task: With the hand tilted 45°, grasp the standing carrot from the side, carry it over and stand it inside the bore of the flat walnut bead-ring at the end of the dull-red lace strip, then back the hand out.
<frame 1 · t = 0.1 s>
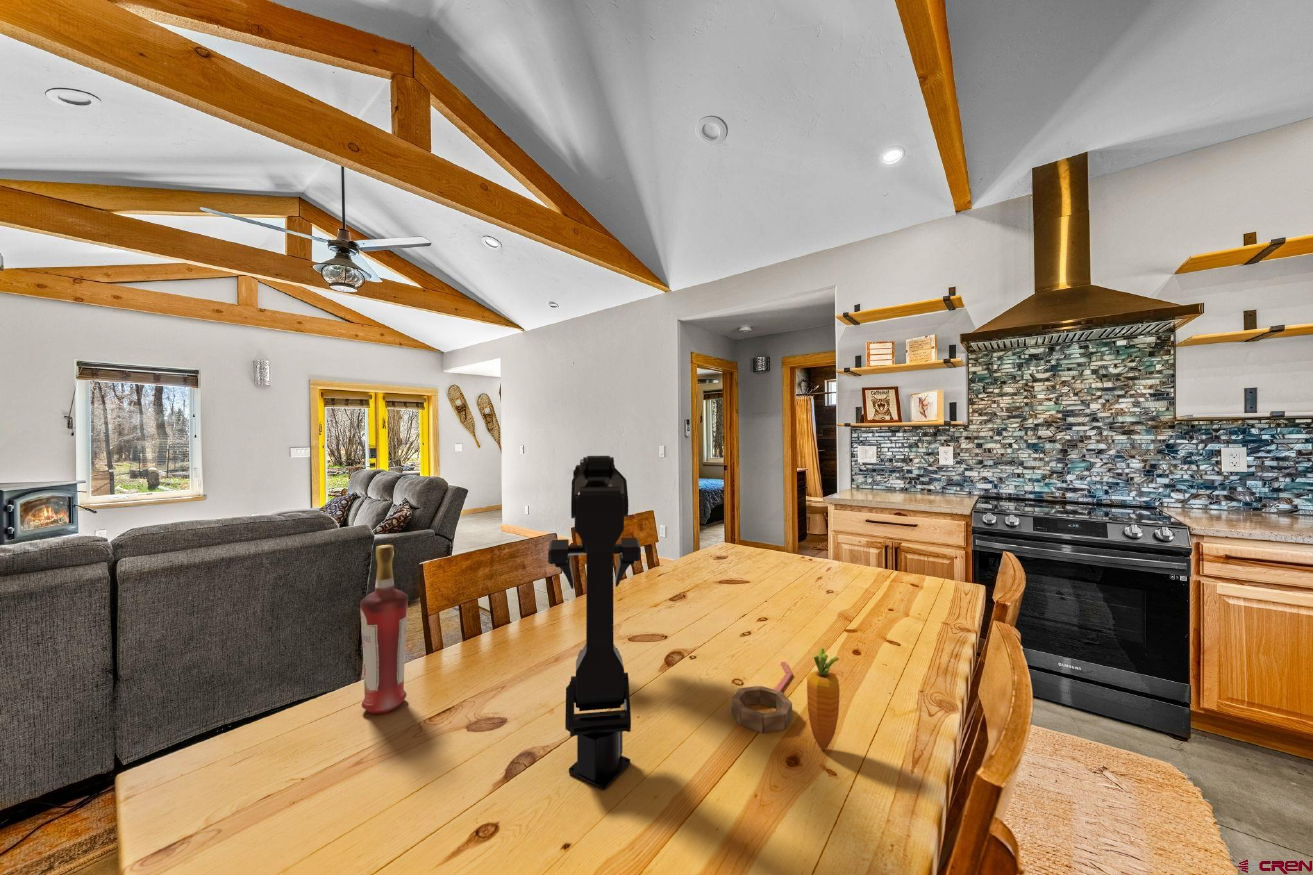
hand: (594, 586, 104), 15 cm above the table, tool pointing down, fingers open, 9 cm apart
liquor: (384, 708, 85), on the table
carrot: (822, 751, 74), on the table
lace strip: (780, 688, 92), on the table
bead ring: (761, 715, 83), on the table
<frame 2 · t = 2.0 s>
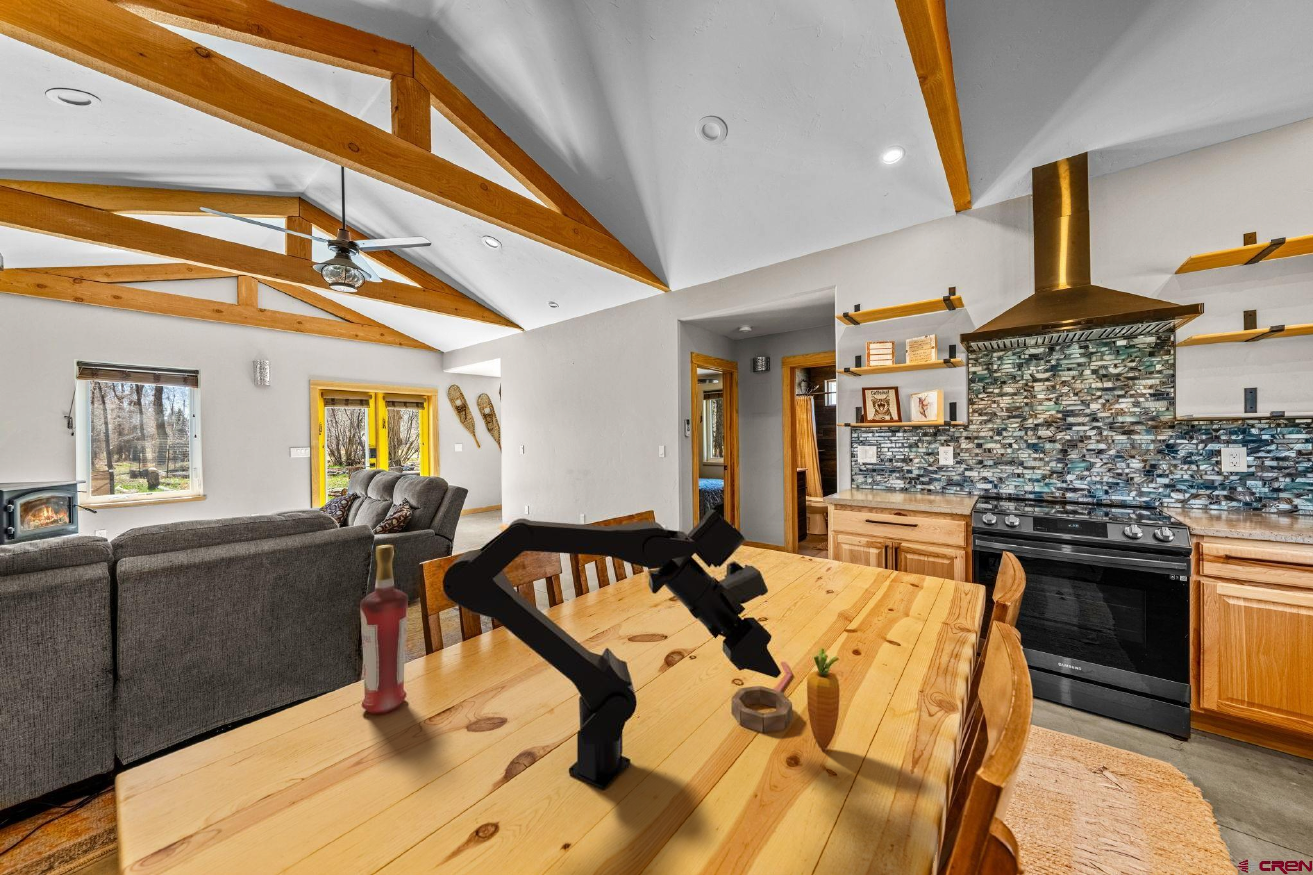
hand: (765, 660, 74), 13 cm above the table, tool tilted 45°, fingers open, 9 cm apart
nothing on the table moved.
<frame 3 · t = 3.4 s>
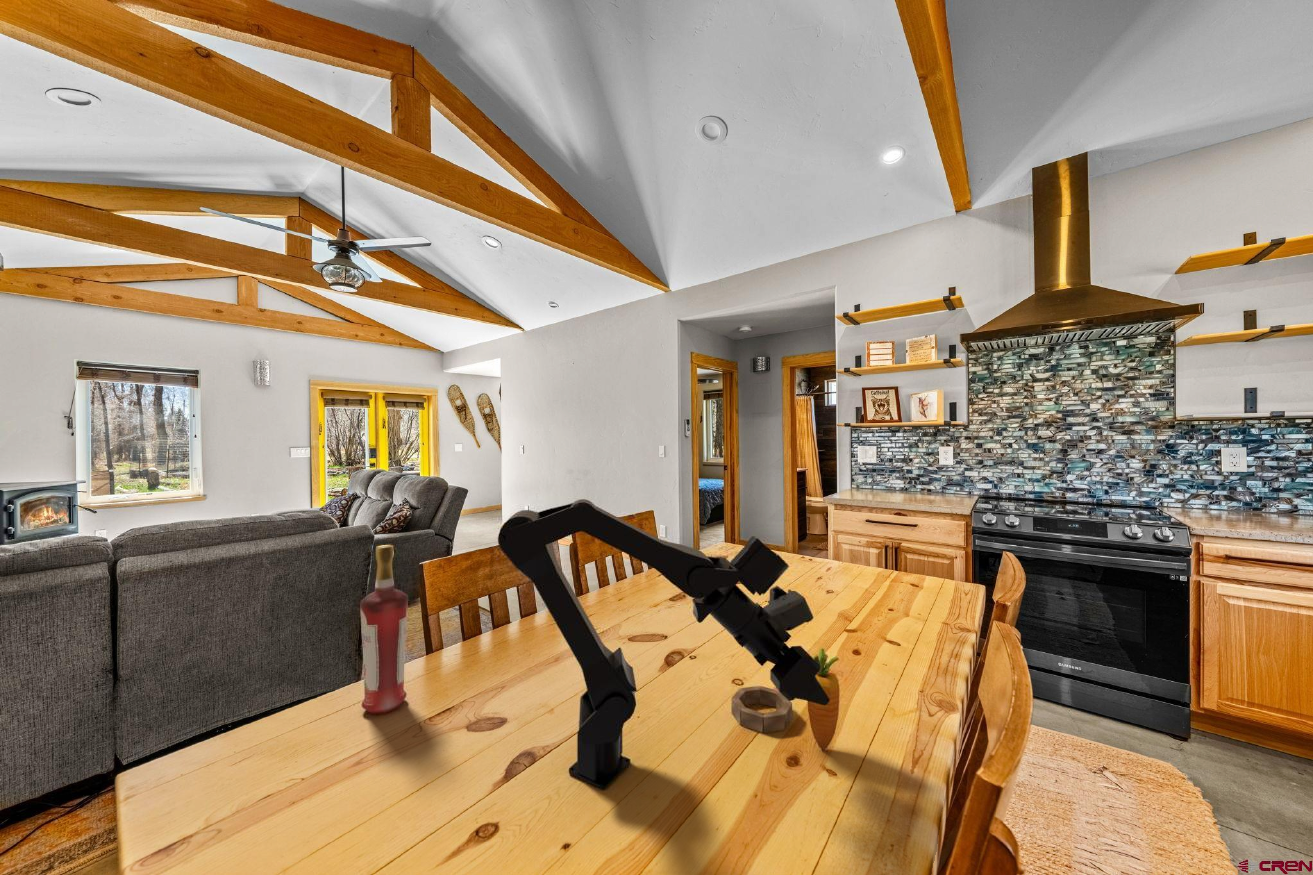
hand: (812, 686, 74), 10 cm above the table, tool tilted 45°, fingers open, 9 cm apart
nothing on the table moved.
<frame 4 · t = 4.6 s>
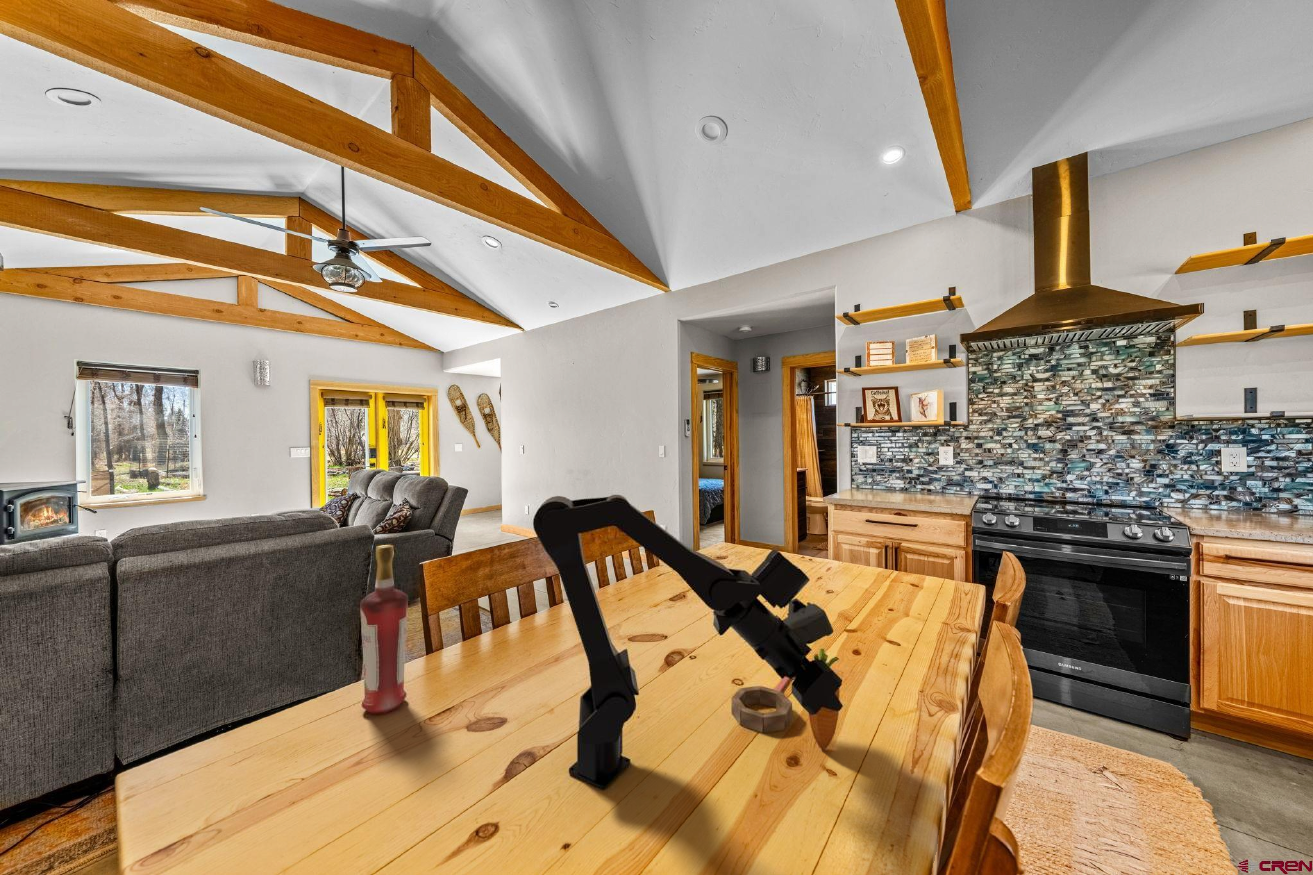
hand: (831, 698, 74), 8 cm above the table, tool tilted 45°, fingers closed on carrot, 5 cm apart
carrot: (822, 751, 74), on the table, touching gripper
everything else where it was.
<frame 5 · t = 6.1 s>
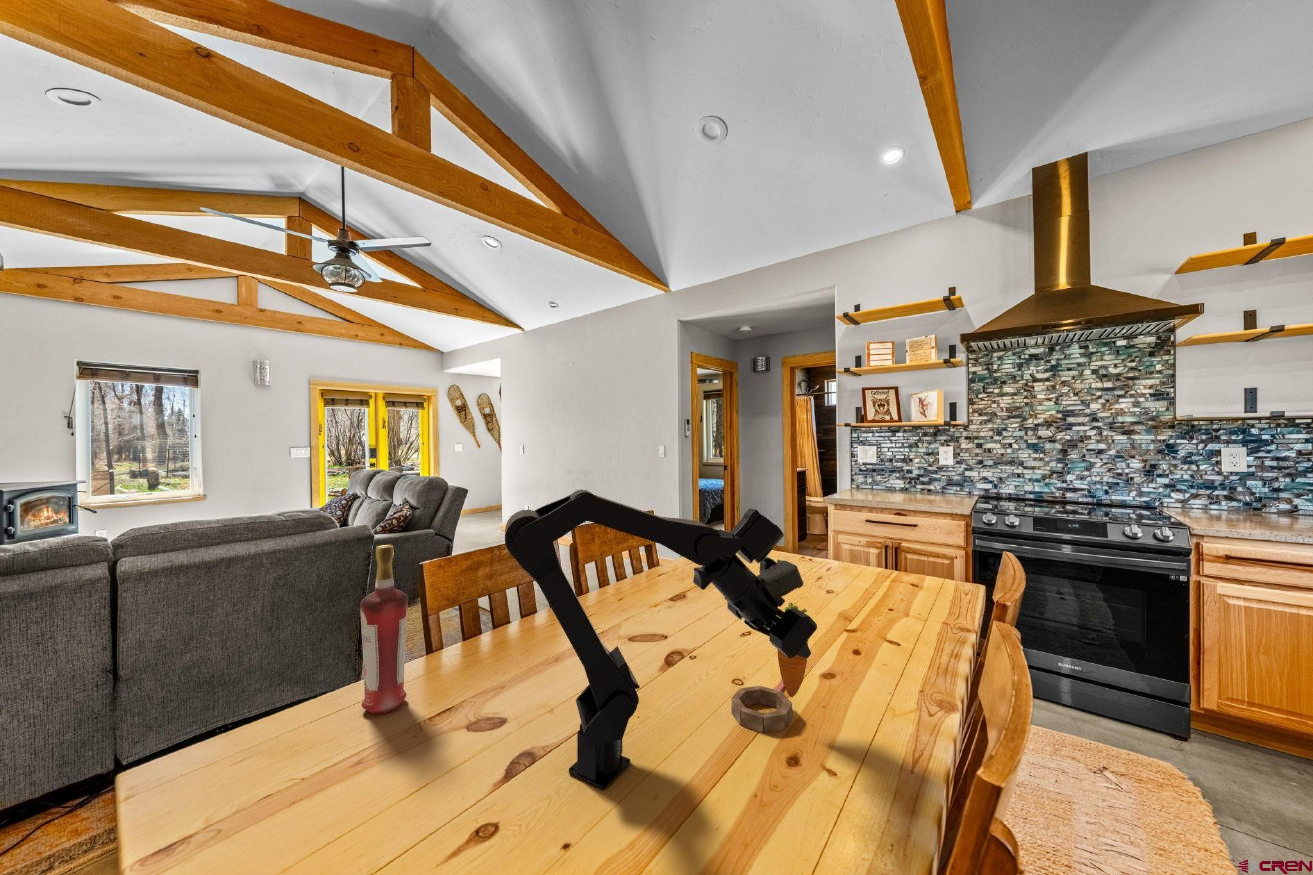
hand: (799, 648, 79), 13 cm above the table, tool tilted 45°, fingers closed on carrot, 5 cm apart
carrot: (791, 698, 78), point 5 cm above the table, touching gripper
everything else where it was.
when the fingers open (9 cm above the table, at t = 7.9 s): carrot drops 1 cm, on the table.
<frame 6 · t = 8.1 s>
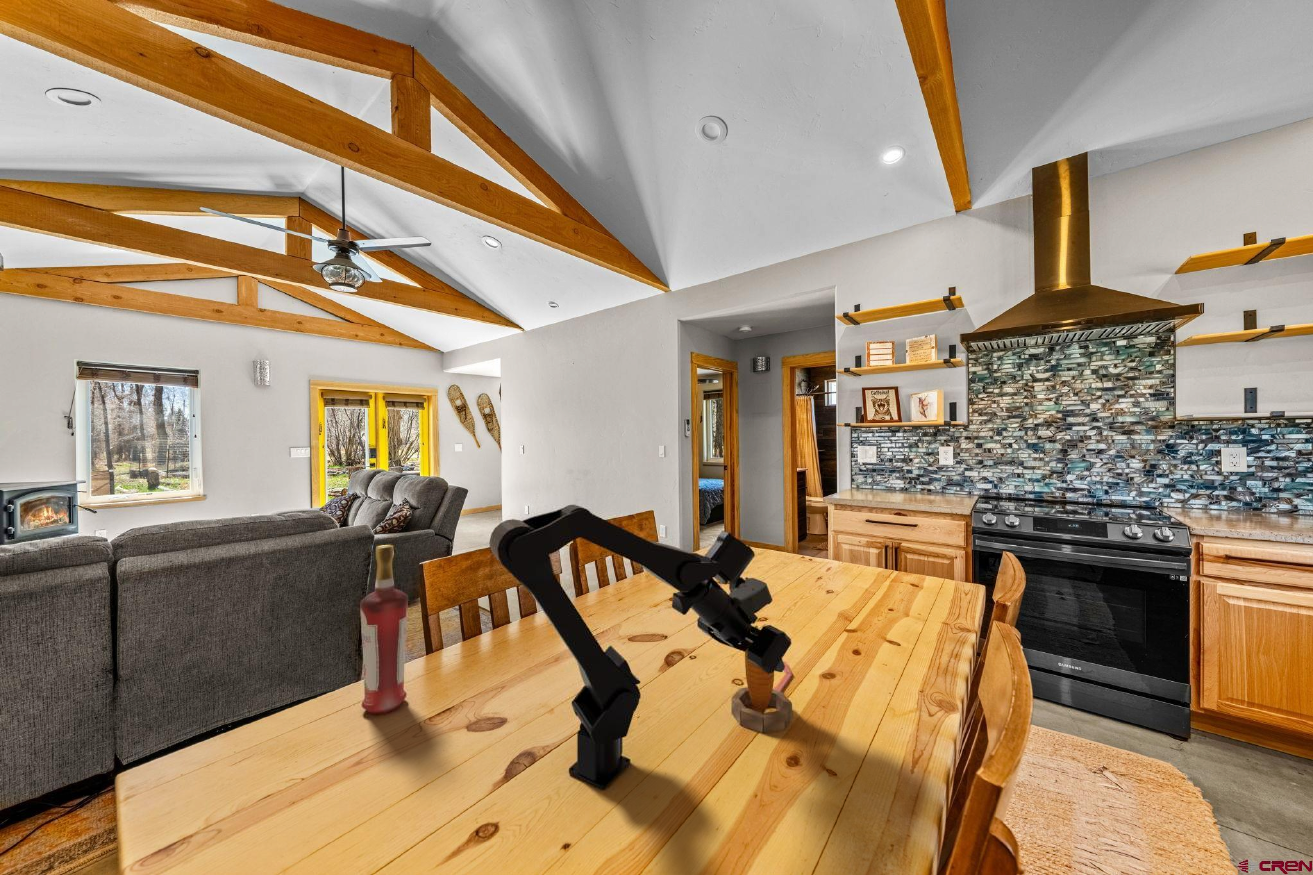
hand: (767, 660, 84), 9 cm above the table, tool tilted 45°, fingers open, 7 cm apart
carrot: (760, 716, 83), on the table
everything else where it was.
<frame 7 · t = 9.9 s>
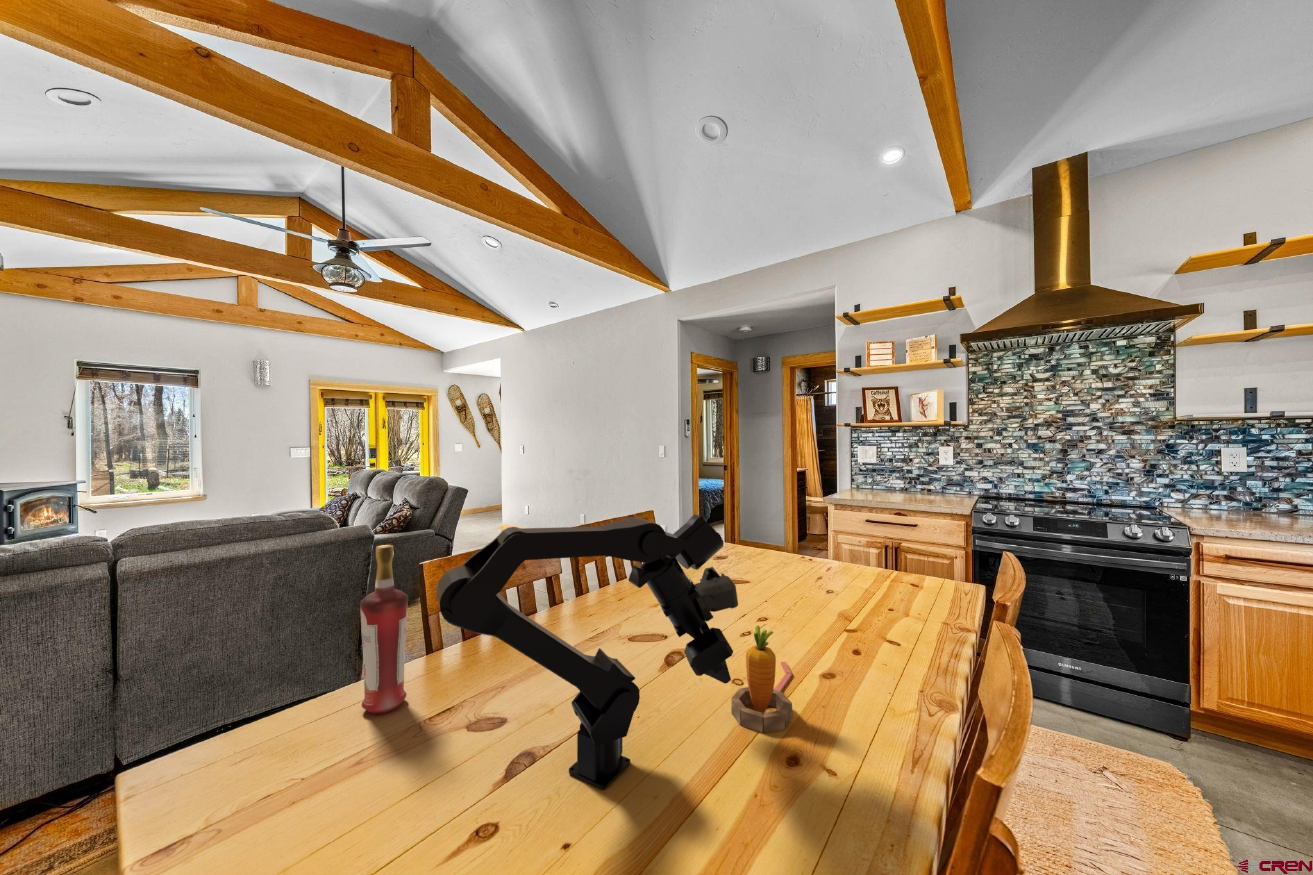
hand: (718, 662, 79), 11 cm above the table, tool tilted 35°, fingers open, 9 cm apart
nothing on the table moved.
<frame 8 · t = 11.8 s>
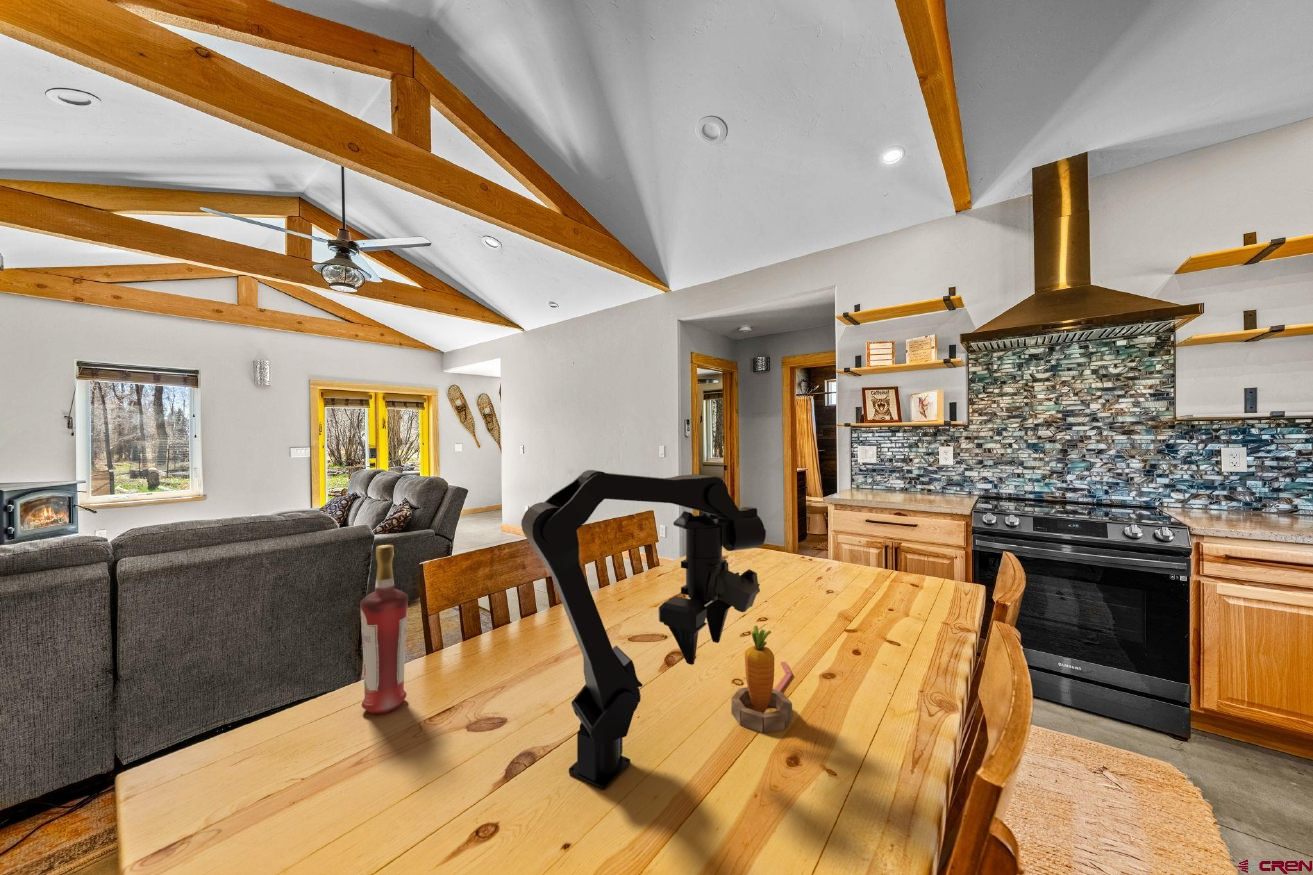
hand: (703, 652, 78), 13 cm above the table, tool pointing down, fingers open, 9 cm apart
nothing on the table moved.
at the end: carrot 0.2 cm from the bead ring (horizontally); carrot tilted 1°; carrot on the table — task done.
